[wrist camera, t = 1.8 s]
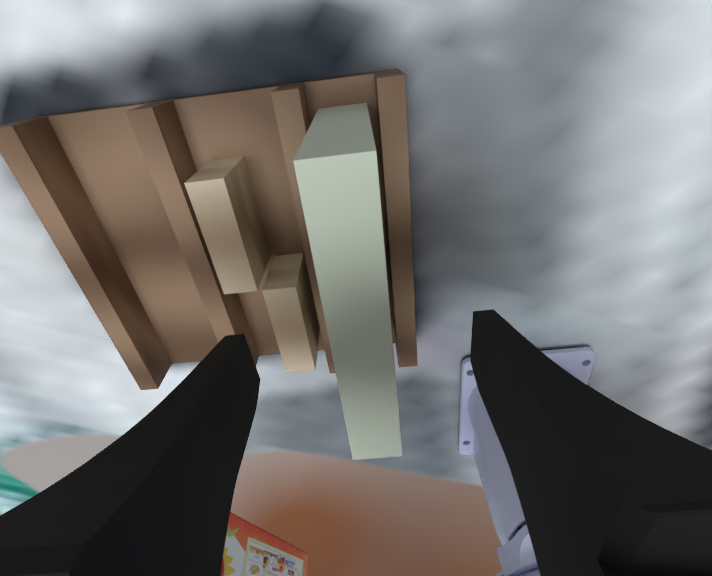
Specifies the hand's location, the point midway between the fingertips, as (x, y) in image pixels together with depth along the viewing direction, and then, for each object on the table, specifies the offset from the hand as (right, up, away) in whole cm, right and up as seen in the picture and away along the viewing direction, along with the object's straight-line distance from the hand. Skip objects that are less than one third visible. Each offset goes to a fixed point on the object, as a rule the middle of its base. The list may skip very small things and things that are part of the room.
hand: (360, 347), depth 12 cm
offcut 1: (-5, +6, +6) cm, 10 cm away
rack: (-5, +4, +8) cm, 10 cm away
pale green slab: (0, +4, +7) cm, 8 cm away
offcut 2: (-3, +2, +9) cm, 9 cm away
